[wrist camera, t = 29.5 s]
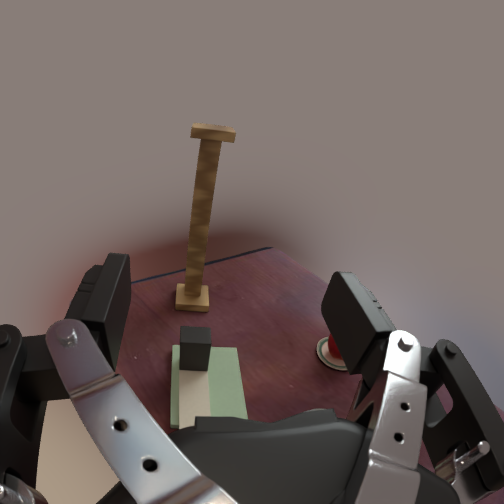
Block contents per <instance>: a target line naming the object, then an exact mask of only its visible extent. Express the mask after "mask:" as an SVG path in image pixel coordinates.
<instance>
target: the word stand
mask: <svg viewBox="0 0 504 504" xmlns="http://www.w3.org/2000/svg"><path fill="white" fill-rule="evenodd" d="M235 135H236V133H235V131H234V129H233V128H232V127H226V126H219V125H210V124H202V123H193V126H192V129H191V136H190V137H191V138H199V139H201V142H200V149H199V156H198V163H197V170H196V178H195V187H194V195H193V203H192V212H191V221H190V231H189V242H188V252H187V264H186V277H185V284H177V292H176V304H175V310H186V311H200V312H208V310H209V297H208V286H203V285H202V278H203V270H204V261H205V252H206V245H207V236H208V229H209V222H210V215H211V208H212V200H213V194H214V186H215V181H216V174H217V167H218V161H219V155H220V149H221V143H222V141H224V142H232V143H234V140H235Z"/></svg>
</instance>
